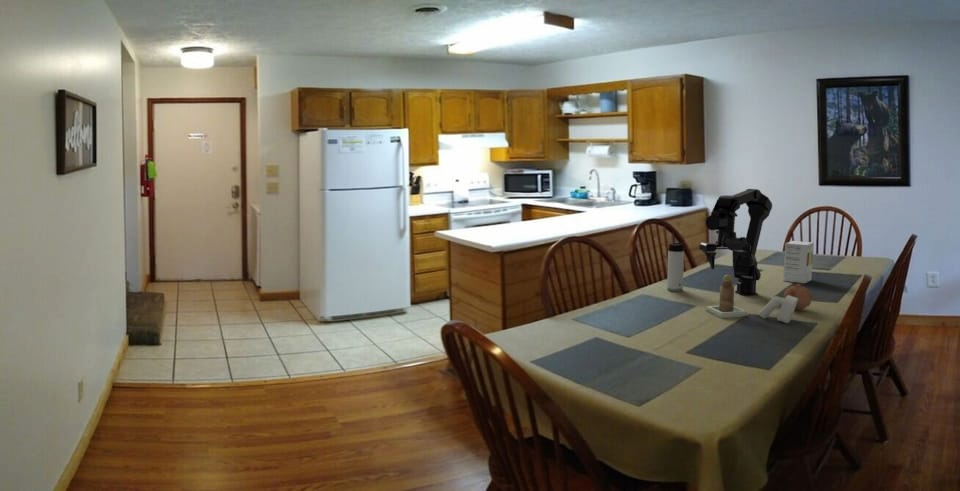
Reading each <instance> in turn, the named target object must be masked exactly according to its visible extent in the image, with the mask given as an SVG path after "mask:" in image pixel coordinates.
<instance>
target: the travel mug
mask: <svg viewBox="0 0 960 491" xmlns="http://www.w3.org/2000/svg"><path fill="white" fill-rule="evenodd" d="M685 245H686V243H685V242H684V241H683V242H673V243H669V244H668V250H667V254H668V256H667V281H666V282H667V284H666V289H667V290H668V292H669V291H670V292H682V291H683V290H684V288H683V286H684V263H685V262H684V261H685V260H684V259H685V249H684V248H685Z"/></svg>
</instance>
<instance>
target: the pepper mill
mask: <svg viewBox="0 0 960 491" xmlns="http://www.w3.org/2000/svg"><path fill="white" fill-rule="evenodd" d="M734 302H735V286H734V285H733V278H732V276H731V275H730V274H725V275H723V277H722V284H721V285H720V286H719V305H718V306H719V311H721V312H733V308H734V306H735V305H734Z"/></svg>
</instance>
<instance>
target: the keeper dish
mask: <svg viewBox="0 0 960 491" xmlns="http://www.w3.org/2000/svg"><path fill="white" fill-rule="evenodd" d="M705 312H707V313H710V314H711V315H714V316H716V317H718V318H720V319H729V318H741V317H747V316H748V311H747V310H746V309H745V310H744V309H742V308H740V307H738V306H735V305H734V308H733V312H721V311H719V305H710V306H709V305H708V306H706V310H705Z"/></svg>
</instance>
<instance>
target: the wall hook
mask: <svg viewBox="0 0 960 491" xmlns="http://www.w3.org/2000/svg"><path fill="white" fill-rule="evenodd" d="M797 301H798V298H795V297H792V296H789V295H788V296H787V297H786V298H785V299H784V298H783V300H782V298H781V297H780V296H774V297H772V298H771V299H770V301H768V303H767V304H766V305H765V306H763V308H761V310H760V311H759V312H758V315H759V317H761V318H762V319H764V320H766V318H768V317H769V316H771V314H772V313H773V312H774V311H775V310H776V309H777V308H778V307H779V306H781V307H780V310H779V313H778V316H777V319H776V320H777V321H778V322H782V323H784V324H787V323H788V324H789V323H790V321H791V320H792V318H793V316H794V313H795V311H796V310H795V307H796V304H797Z"/></svg>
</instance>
